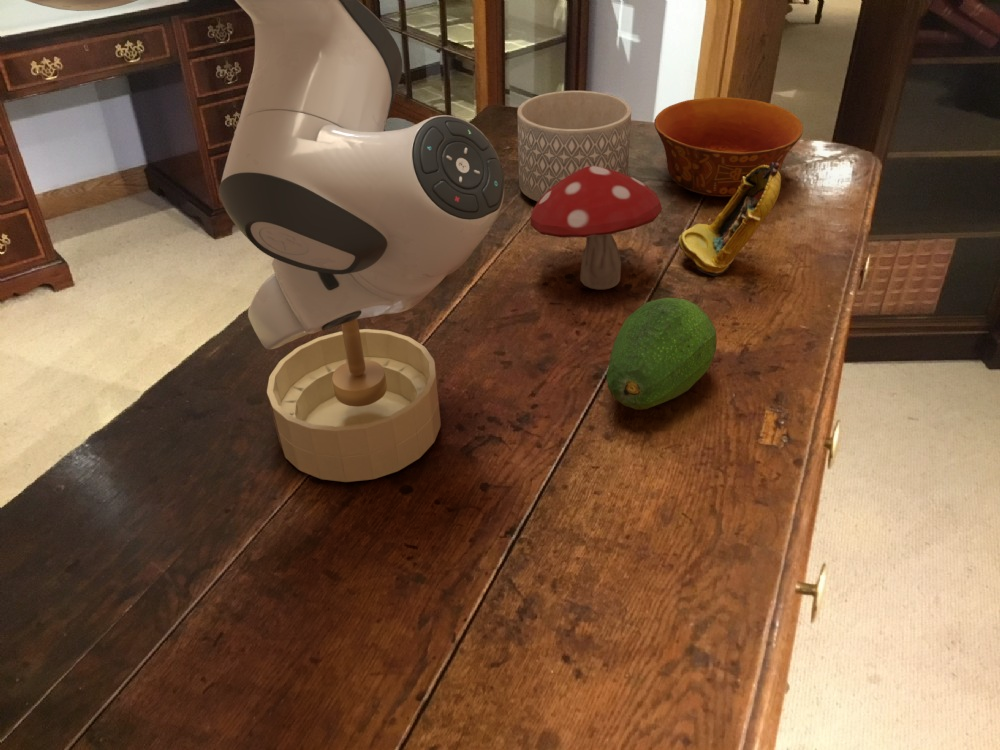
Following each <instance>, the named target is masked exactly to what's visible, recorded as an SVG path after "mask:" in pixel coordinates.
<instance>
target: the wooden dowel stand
mask: <svg viewBox="0 0 1000 750" xmlns="http://www.w3.org/2000/svg"><path fill="white" fill-rule="evenodd" d="M340 326H341V327H340V328H341V331H342V333H343V338H344V344H345V349H346V355H347V361H348V362H347V363H344V364H342V365H341V366H339V367H338V368H337V369H336V370H335V371H334V373H333V375H332V382H333V387H334V392H335V396H336V398H337V400H338V401H339V402H341V403H343V404H345V405H348V406H366V405H369V404H372V403H374V402H376V401H378V400H379V399H381V398H382V397H383V396H384V394H385V393H386V390H387V384H386V377H385V371H384V368H383V367H382V365H380V364H379V363H377V362H375V361H372V360H366V359H364V356H363V349H362V343H361V337H360V331H359V330H360V325H359V319H355V320H353V321H350V322H346V323H343V324H340Z"/></svg>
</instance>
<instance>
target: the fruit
mask: <svg viewBox="0 0 1000 750" xmlns="http://www.w3.org/2000/svg"><path fill="white" fill-rule="evenodd" d="M716 350H717V329H716V327H715V326H714V323H713V321H712V320H711V318H710V317H709V316H708V314H707V313H706V312H705V311H704V310H703V309H702V308H701V307H700V306H699V305H697V304H696V303H694V302H692V301H689V300H687V298H677V297H663V298H657V299H653V300H650V301H647V302H645V303H644V304H642V305H641V306H640V307H638V308H637V309H636V310H635V311H633V312H632V313H631V314H630V315H629V316H627V317H626V319H625V320H624V322H623V324H622V326H621V328H620V329H619V331H618V333H617V335H616V337H615V340H614V342H613V346H612V349H611V354H610V358H609V362H608V367H607V373H606V383H607V387H608V390H609V392H610V394H611V396H613V397H614V399H616V400H617V401H618V402H619V403H620V404H622V405H623V406H624V407H628V408H631V409H634V410H648V409H650V408H653V407H655V406H658V405H661V404H663V403H666V402H668V401H671V400H673V399H676V398H678V397H679V396H681V395H682V394H685V393H686V392H688V391H689V390H690V389H691V388H692V387H693V386H694V385H695V384H696V383H697V382H698V381H699V380H700V379H701V378H702V377H703V376H704V375H705V374H706V373H707V372H708V371H709V369H710V367H711V364H712V362H713V359H714V357H715V353H716Z"/></svg>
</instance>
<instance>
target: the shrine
mask: <svg viewBox="0 0 1000 750" xmlns="http://www.w3.org/2000/svg"><path fill="white" fill-rule="evenodd" d="M778 168H779V163H773V162H771V163H770V164H769V166H768V165H766V166H765V165H761V166H758V167H757V168H754V169H753V170H752V171H751V172H750V173H749V174H747V175H746V177H744V176H743V177H742V180H741V185H740V186H739V187H738V190H737V191H736V193H735V194H734V196H731V198H730V199H729V201H728V203H726V205H725V206H724V208H723V209H722V211H721V212H720V213H718V215H717V216H716V218H715V219H714V221H713V222H711V224H706V223H696V224H694V225H693V226H691V227H689V228H687V229H685V230H684V231H682V233H681V234H680V235H678V244H679V248H680V250H681V251H682V252H683V254H684V256H685V257H686V258H688V259H689V260H690V261H692V262H694V264H695V265H696V269H697V270H698V271H700V272H702V273H704V274H706V275H709V276H713V277H718V276H720V275H722V274H723V273H726V272H727V271H729V268H730V266H731V264H732V262H733V261H734V260H735V258H736V257H737V256H738V254H739V253H740V252H741V251H742V249H743V248H744V247H745V245H746V244H747V243H749V241H750V240H751V238H752V237H753V236H754V234H755V232H757V230H758V229H759V227H760V226H761V225H762V223H763V222H764V221H765V219H766V218H767V217H768V215H770V212H771V211H772V210H773V208H774V206H775V204H776V202H777V201H778V197H779V195H780V192H781V191H780V190H781V185H782V176H781V172H780V173H779V172H778Z"/></svg>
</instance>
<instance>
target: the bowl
mask: <svg viewBox="0 0 1000 750" xmlns="http://www.w3.org/2000/svg"><path fill="white" fill-rule="evenodd" d="M653 123H654V128H655V130H656V132H657V134H658V136H659V138H660V140H661V143H662V146H663V148H664V152H665V158H666V164H667V170H668V173H669V175H670V177H671V179H672V180H673V181H674V182H675V183H676V184H677V185H678V186H680V187H682V188H684V189H686V190H688V191H690V192H693V193H697V194H701V195H704V196H711V197H723V198H724V197H725V198H730V197H731V198H732V197H733V196H734V194H735V193H736V191H737V190H738V187H739V186H740V185H741V180H742V177H743V176H744V177H746V175H747V174H749V173H750V172H751V171H752V170H753V169H754V168H757V167H758V166H761V165H765V166H766V165H768V166H769V164H770V163H771V162H773V163H779V168H778V172H779V173H780V174H781V170H782V166H783V164H784V161H785V159H786V158H787V155H788V154H789V153H790V151H791V150H792V149H793V147H794V146H795V145H796V144H797V143H798V141H800V139H801V137H802V135H803V133H804V125H803V123H802V121H801V119H800V118H798V117H797V115H796V114H794V113H793V112H792V111H790V110H787V109H786V108H784V107H781V106H780V105H777V104H774V103H770V102H766V101H761V100H758V99H747V98H740V97H729V96H728V97H724V96H717V97H716V96H715V97H704V98H703V97H702V98H695V99H693V98H692V99H686V100H683V101H679V102H678V103H674V104H670V105H669V106H666V107H664V108H663V109H662V110H661V111H660V112H658V113H657V115H656V116H655V118H654V121H653Z"/></svg>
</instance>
